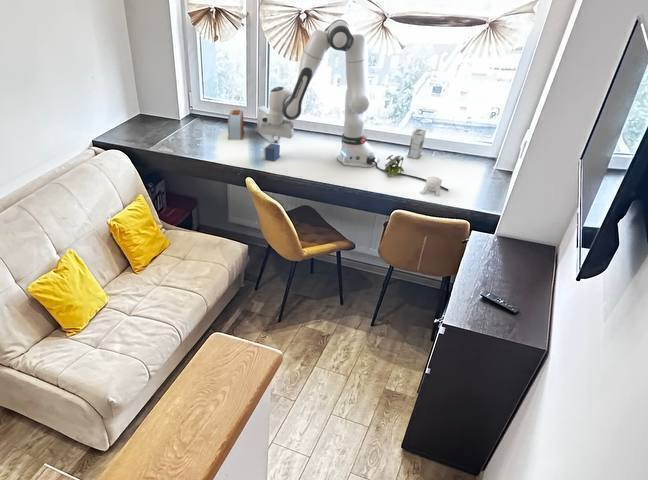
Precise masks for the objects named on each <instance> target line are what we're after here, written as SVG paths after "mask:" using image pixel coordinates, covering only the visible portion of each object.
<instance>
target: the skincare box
mask: <svg viewBox="0 0 648 480" xmlns="http://www.w3.org/2000/svg"><path fill="white" fill-rule="evenodd" d="M269 111H270V108H268V107H267V106H265V105H261V106H260V105H259V106H257V111H256V112H257V113H256V114H257V115H256V117H257V119H256V133H257V134H258V135H260V136H261V137H263V139H265V140H266V141H268V143H272V144H273V143H274V140H273V139H272V135H266V134H261V133H260V123H261V122H262V121H261V118H262V117H263V116H265V115H266V114H269ZM275 139H276V140H278V136H275Z"/></svg>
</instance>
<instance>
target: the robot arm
mask: <svg viewBox="0 0 648 480" xmlns="http://www.w3.org/2000/svg"><path fill="white" fill-rule="evenodd" d="M367 44H368V43H367V40H366V37H365V35H363V34H362V33H361V34H360V33H355V34H354V33H352V32H351V28H350V25H349V24H348V22H347V21H346V20H343V19H336V20H334V21H333V22H332V23H331V24H330V25H328V26H327V27H326V28H325V30H322V29H316V30H314V31H313V32H312V33H311V35H310V37H309V38H308V40H307V41H306V44H305V46H304V48H303V51H302V54H301V57H300V61H299V67H298V75H297V80H296V83H295V86H294V87H293V90H292V91H290V90H289V89H288V90H287V89H286V88H285V86H277V87H274V88H272V89H271V90H270V92H269V99H268V102H269V103H268V107H269V109H270V111H269V114H266V115H265V116H263V117H262V118H261V121H262V122H261V123H260V133H261V134H266V135H272V139H273V140H274V142H273V144H278V145H280V140H281V138H284V139H292V138H293V137H294V133H295V132H294V131H295V130H294V127H295V125H294V122H293V121H294V120H297V119H298V118H300V116H301V114H302V105H303V100H304V97H305V95H306V92H307V90H308V87H309V85H310V83H311V81H312V79H313V78H314V77H315V75H316V73H317V72H318V70H319V68H320V66H321V65H322V63H323V61H324V58H325V56H326V53H327V51H328V50H329V49H331V48H332V49H333V50H335V51H340V52H344V54H345V55H344V56H345V77H346V78H345V79H346V80H345V81H346V86H347V87H346V91H345V100H344V122H343V132H342V135H341V148H340V151H339V155H338V157H337V160H338V161H339V162H340V163H342V165H343V166H350V167H361V168H372V167H373V166H374V165H375V167H376V169H378V170H379V171H381V172H384V173H385V172H386V173H388V172H389V170H388V171H387V170H384V169H382V168H380V167H379V166H378V161H379V158H378V156H376V155H375V149H374V147H372V146H371V145H370V144H369V142H367V138H368V135H365V134H364V132H365V125H366V124H365V123H366V111H367V110H368V109H369V106H370V85H369V83H370V82H369V74H368V72H369V70H368V69H369V67H368V66H369V65H368V64H369V63H368V60H369V59H368V56H369V55H368V45H367ZM275 136H278V138H277V140H276V139H275ZM391 173H392V172H391ZM396 175H400V176H404V177H409V178H414V179H417V180H421V181H423V182H426V181H427V179H425V178H423V177H419V176H415V175H410V174H406V173H402V172H401V173H400V172H398V173H397V174H396ZM440 189H443V190H445V191H449V189H448V188H446V187H445V186H442V185H441V186H440Z"/></svg>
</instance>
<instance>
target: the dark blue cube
mask: <svg viewBox="0 0 648 480" xmlns="http://www.w3.org/2000/svg"><path fill="white" fill-rule="evenodd" d="M280 149H281V144H275V143H273V142H272V143H270V142H268V144H266V145H265V146H264V147H263V161H271V162H275V161H276V160H277V159H279V158H280V156H281V154H280V151H281V150H280Z"/></svg>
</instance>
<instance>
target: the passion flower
mask: <svg viewBox="0 0 648 480" xmlns="http://www.w3.org/2000/svg"><path fill="white" fill-rule="evenodd" d="M393 156H394V155H393V154H391V155H389V156H387V158H386V159H385V160H386V161H388V160H389V161H388V162H387V163H385V164H384V169H383V170H387V171H389V172H387V176H388V177H390V176H391V177H393V176H396V175H398V174H397V173H401V174H402V172H403V173H404V172H405V170H404V168H403V167H402V165H403V163H404V162H403V161H404V156H401V155H396V156H395V157H393ZM392 157H393V158H392ZM399 165H400V166H399ZM391 172H392V173H391Z"/></svg>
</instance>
